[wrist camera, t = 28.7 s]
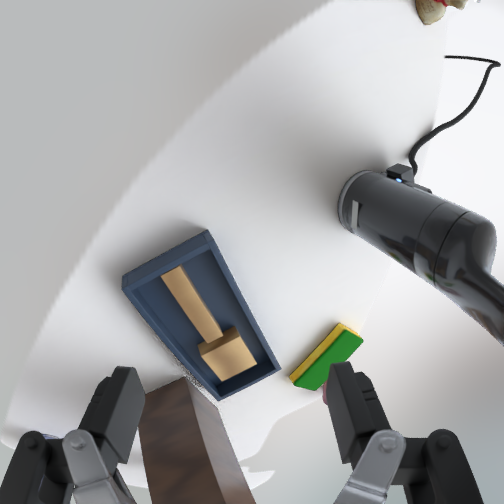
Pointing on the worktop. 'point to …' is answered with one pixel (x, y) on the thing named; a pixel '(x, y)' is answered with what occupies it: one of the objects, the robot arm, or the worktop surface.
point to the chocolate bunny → (436, 9)
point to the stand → (188, 449)
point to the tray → (217, 300)
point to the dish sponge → (326, 357)
